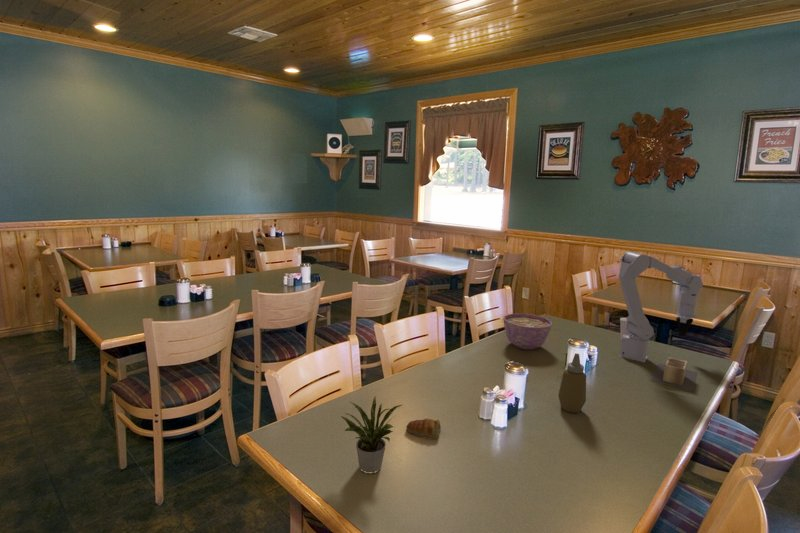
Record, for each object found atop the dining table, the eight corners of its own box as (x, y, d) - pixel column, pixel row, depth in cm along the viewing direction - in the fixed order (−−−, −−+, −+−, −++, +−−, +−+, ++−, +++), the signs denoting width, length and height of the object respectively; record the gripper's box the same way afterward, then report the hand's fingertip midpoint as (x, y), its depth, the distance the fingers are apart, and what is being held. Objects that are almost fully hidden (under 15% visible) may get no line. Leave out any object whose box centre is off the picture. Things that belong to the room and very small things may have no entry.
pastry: (404, 437, 122) (405, 424, 122) (408, 424, 129) (408, 412, 128) (439, 441, 121) (440, 428, 121) (441, 428, 128) (441, 415, 127)
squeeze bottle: (585, 406, 143) (592, 352, 140) (583, 417, 136) (590, 361, 133) (558, 400, 147) (564, 347, 143) (555, 411, 140) (561, 355, 136)
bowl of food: (491, 344, 195) (494, 318, 193) (517, 335, 209) (520, 310, 207) (533, 358, 181) (535, 331, 179) (558, 347, 194) (561, 321, 192)
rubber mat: (650, 381, 164) (650, 380, 164) (658, 364, 180) (658, 363, 180) (692, 392, 156) (692, 391, 156) (697, 373, 173) (697, 372, 173)
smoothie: (635, 342, 205) (639, 312, 202) (621, 341, 205) (625, 312, 202) (628, 337, 211) (632, 308, 209) (614, 337, 211) (618, 308, 209)
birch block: (666, 371, 172) (662, 380, 164) (668, 356, 171) (665, 364, 163) (684, 376, 168) (681, 385, 160) (687, 360, 167) (684, 369, 159)
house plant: (384, 442, 119) (386, 384, 116) (414, 471, 108) (417, 407, 105) (334, 458, 112) (335, 396, 109) (360, 491, 100) (362, 423, 97)
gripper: (697, 309, 175) (691, 342, 177) (700, 302, 186) (695, 333, 189) (676, 305, 179) (671, 338, 182) (680, 298, 190) (675, 329, 193)
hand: (682, 335), depth 186 cm, fingers closed
